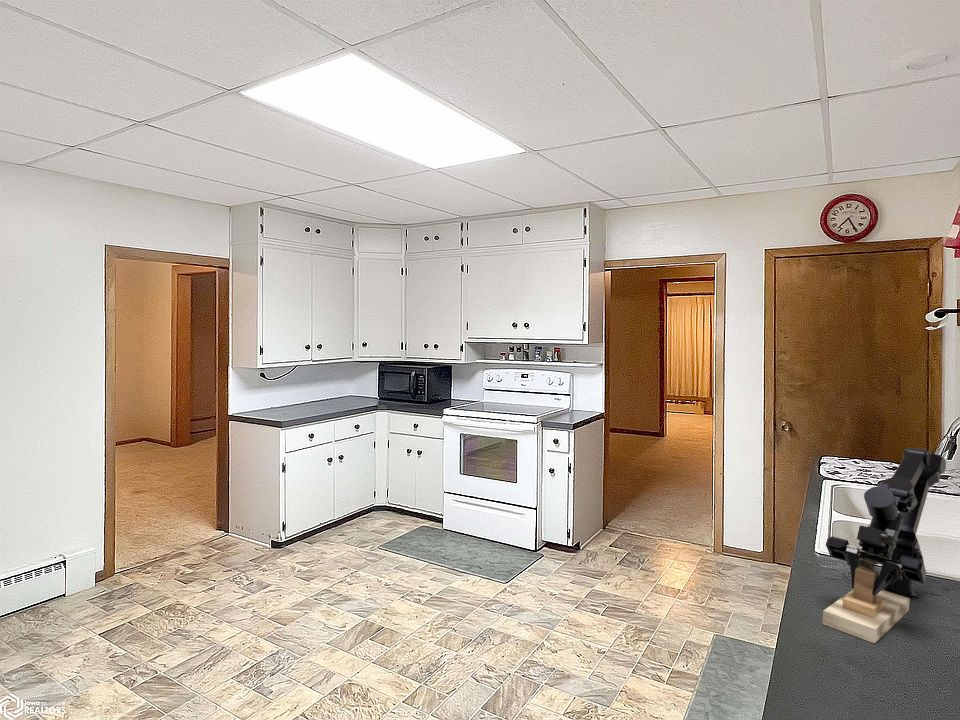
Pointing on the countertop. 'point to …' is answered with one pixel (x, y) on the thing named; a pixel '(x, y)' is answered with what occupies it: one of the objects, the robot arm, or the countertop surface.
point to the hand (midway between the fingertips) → (863, 591)
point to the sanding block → (864, 594)
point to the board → (867, 617)
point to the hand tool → (866, 563)
